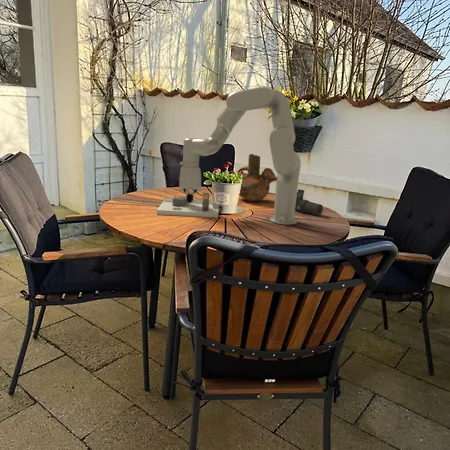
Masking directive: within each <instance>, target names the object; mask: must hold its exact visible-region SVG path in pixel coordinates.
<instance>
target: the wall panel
mask: <svg viewBox="0 0 450 450" xmlns="http://www.w3.org/2000/svg"><path fill="white" fill-rule="evenodd" d="M173 198H174V197H163V201H162V202H161V204H160V205H159V206H158V208H156V215H161V216H163V215H164V216H165V215H166V216H182V217H197V218H198V217H199V218H200V217H201V218H218V217H219V213H218V212H220V209H219V210H218V209H214V208H213V206H212V204H213V199H209V211H202V202H203V199H195V198H193V201H192V202H191V203H188V201H187V203H186V205H185V206H176V205H172V202H173Z"/></svg>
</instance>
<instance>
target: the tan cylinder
mask: <svg viewBox="0 0 450 450" xmlns="http://www.w3.org/2000/svg"><path fill="white" fill-rule="evenodd" d="M202 200H203V202H202V211H209V200H210V193H209V192H204V193H202Z"/></svg>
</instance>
